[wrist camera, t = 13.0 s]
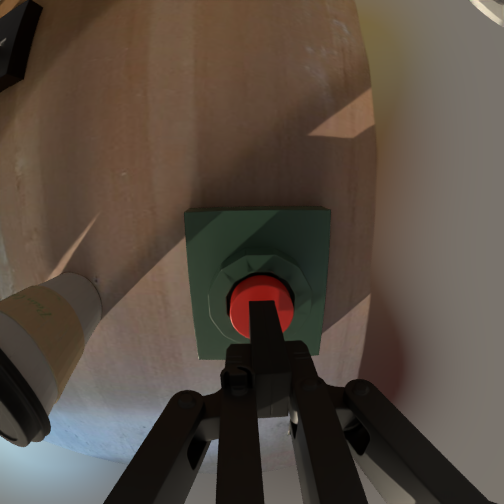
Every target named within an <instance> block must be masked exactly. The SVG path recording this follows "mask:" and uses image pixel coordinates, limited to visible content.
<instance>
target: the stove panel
mask: <svg viewBox="0 0 504 504" xmlns="http://www.w3.org/2000/svg"><path fill="white" fill-rule="evenodd" d="M42 9H43V7H41V6H40V5H38V4H37V3H35V2H34V1H32V0H27V1H25V2H24V3H22V4H21V5H19V6H18V7H16V8H15V9H13V10H12V11H10V12H9V13H7V14H6V15H4V16H3V17H2V18H0V92H1V91H3V90H5V89H7V88H8V87H10V86H12V85H14V84H16V83H17V82H19V81H21V80H23V79H24V75H25V69H26V65H27V60H28V56H29V51H30V47H31V44H32V40H33V36H34V33H35V30H36V26H37V23H38V20H39V17H40V14H41V11H42Z"/></svg>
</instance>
